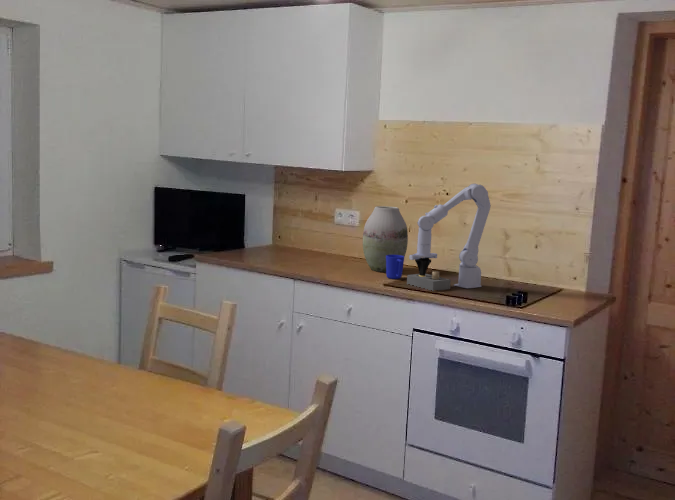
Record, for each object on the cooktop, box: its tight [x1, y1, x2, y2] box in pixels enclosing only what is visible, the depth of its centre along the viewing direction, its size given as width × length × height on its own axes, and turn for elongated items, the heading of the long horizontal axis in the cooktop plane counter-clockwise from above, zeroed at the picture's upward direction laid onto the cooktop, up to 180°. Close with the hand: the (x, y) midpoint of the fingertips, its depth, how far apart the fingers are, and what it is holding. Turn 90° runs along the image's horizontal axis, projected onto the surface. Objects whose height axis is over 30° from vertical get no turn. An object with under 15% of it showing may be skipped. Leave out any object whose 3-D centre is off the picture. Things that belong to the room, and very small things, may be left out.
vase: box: [362, 205, 409, 273], centre depth 344 cm, size 21×21×30 cm
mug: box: [385, 255, 405, 280], centre depth 324 cm, size 8×12×10 cm
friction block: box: [406, 273, 452, 292], centre depth 309 cm, size 10×16×4 cm, turn 37°
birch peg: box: [431, 270, 440, 280], centre depth 305 cm, size 3×3×4 cm
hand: (422, 275), depth 312 cm, fingers closed, pressing on mustard peg
